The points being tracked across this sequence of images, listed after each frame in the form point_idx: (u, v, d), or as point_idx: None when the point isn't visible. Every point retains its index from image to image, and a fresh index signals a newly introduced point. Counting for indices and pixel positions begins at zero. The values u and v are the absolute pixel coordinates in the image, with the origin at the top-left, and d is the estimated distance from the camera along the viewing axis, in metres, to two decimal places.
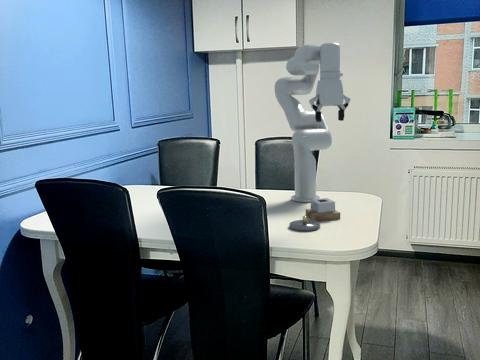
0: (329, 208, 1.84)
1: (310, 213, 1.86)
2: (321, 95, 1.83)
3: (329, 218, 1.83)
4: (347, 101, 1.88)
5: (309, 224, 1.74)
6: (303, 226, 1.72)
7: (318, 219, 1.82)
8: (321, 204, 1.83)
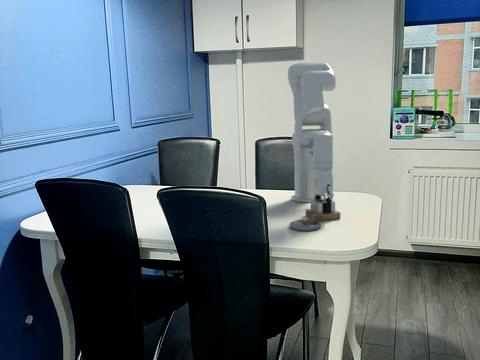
0: None
1: (310, 213, 1.86)
2: (332, 185, 1.81)
3: (329, 218, 1.83)
4: None
5: (309, 224, 1.74)
6: (303, 226, 1.72)
7: (318, 219, 1.82)
8: (321, 204, 1.83)
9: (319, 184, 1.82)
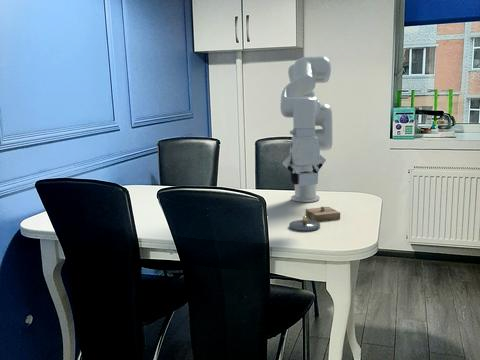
0: None
1: (310, 213, 1.86)
2: None
3: (329, 218, 1.83)
4: None
5: (309, 224, 1.74)
6: (303, 226, 1.72)
7: (318, 219, 1.82)
8: None
9: (315, 152, 1.68)
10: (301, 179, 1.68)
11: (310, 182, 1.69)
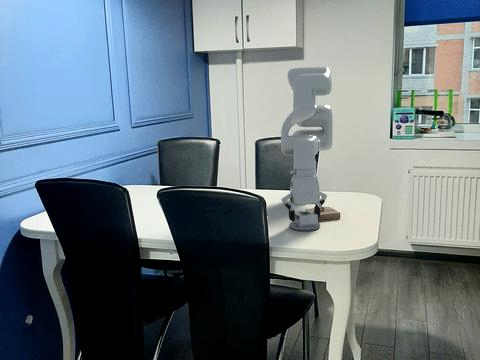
0: None
1: None
2: None
3: (329, 218, 1.83)
4: None
5: None
6: None
7: (318, 219, 1.82)
8: None
9: (315, 191, 1.71)
10: (301, 221, 1.70)
11: (310, 223, 1.72)
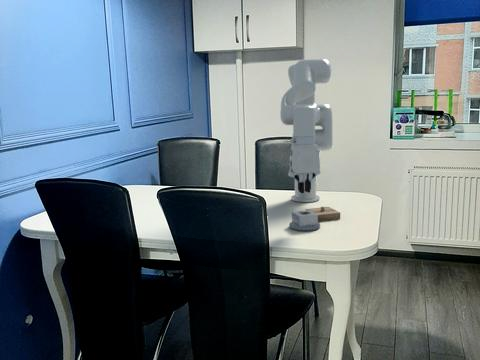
0: None
1: None
2: None
3: (329, 218, 1.83)
4: None
5: None
6: None
7: (318, 219, 1.82)
8: None
9: (315, 160, 1.69)
10: (301, 221, 1.70)
11: (310, 223, 1.72)
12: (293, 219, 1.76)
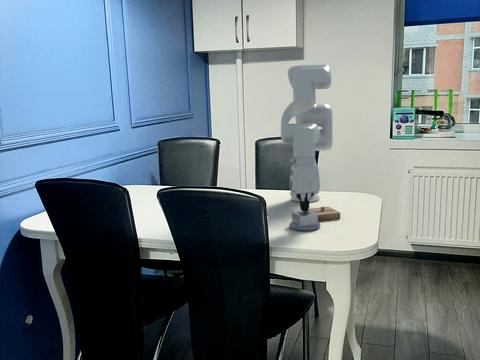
0: None
1: None
2: None
3: (329, 218, 1.83)
4: None
5: None
6: None
7: (318, 219, 1.82)
8: None
9: (315, 180, 1.70)
10: (301, 221, 1.70)
11: (310, 223, 1.72)
12: (293, 219, 1.76)
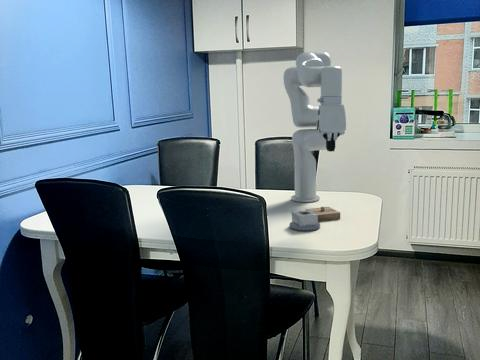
0: None
1: None
2: None
3: (329, 218, 1.83)
4: None
5: None
6: None
7: (318, 219, 1.82)
8: None
9: (341, 119, 1.75)
10: (301, 221, 1.70)
11: (310, 223, 1.72)
12: (293, 219, 1.76)
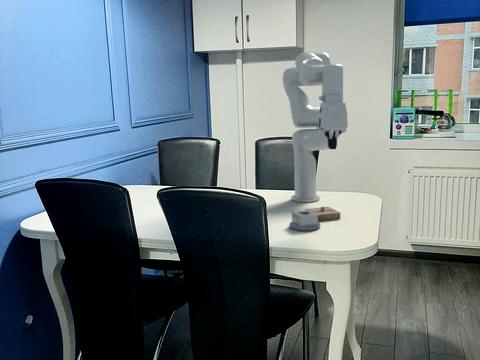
0: None
1: None
2: None
3: (329, 218, 1.83)
4: None
5: None
6: None
7: (318, 219, 1.82)
8: None
9: (343, 117, 1.75)
10: (301, 221, 1.70)
11: (310, 223, 1.72)
12: (293, 219, 1.76)
